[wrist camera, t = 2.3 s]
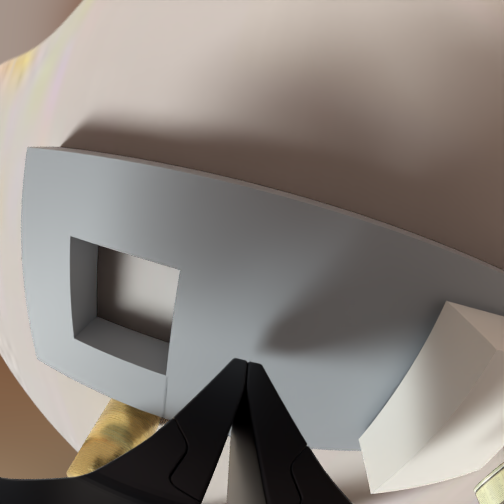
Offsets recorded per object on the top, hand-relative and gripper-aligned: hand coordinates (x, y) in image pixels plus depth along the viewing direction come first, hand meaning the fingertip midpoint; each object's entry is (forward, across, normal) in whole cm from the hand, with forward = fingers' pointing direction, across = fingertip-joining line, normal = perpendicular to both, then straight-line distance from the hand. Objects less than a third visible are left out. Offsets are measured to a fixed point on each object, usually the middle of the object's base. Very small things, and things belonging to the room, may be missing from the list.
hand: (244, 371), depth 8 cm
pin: (+3, +5, +8) cm, 10 cm away
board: (+3, -6, 0) cm, 7 cm away
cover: (+1, -9, 0) cm, 9 cm away
